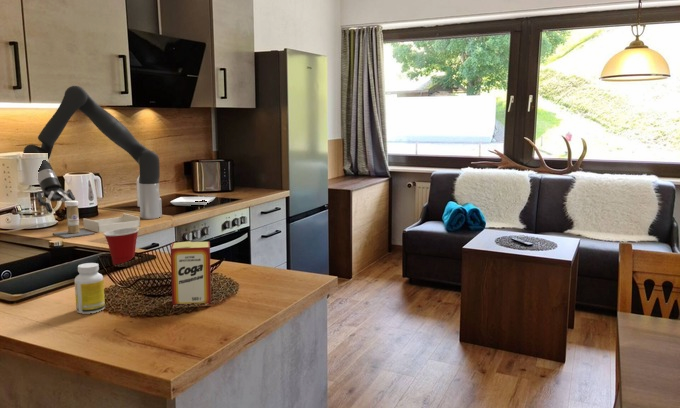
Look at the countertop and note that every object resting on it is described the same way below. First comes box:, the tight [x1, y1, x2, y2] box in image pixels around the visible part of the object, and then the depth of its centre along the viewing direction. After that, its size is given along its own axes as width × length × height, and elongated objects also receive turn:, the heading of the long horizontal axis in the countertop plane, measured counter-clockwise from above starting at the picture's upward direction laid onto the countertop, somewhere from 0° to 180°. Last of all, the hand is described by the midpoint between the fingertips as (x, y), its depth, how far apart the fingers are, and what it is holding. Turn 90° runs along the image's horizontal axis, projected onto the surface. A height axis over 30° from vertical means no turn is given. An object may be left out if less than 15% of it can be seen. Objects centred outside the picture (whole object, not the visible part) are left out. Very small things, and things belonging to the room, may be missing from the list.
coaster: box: [52, 228, 96, 239], centre depth 221 cm, size 12×12×1 cm
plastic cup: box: [102, 227, 140, 266], centre depth 173 cm, size 11×11×12 cm
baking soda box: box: [170, 240, 212, 305], centre depth 137 cm, size 10×6×16 cm
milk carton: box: [136, 174, 140, 208], centre depth 298 cm, size 7×7×19 cm
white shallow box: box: [82, 212, 141, 234], centre depth 237 cm, size 19×14×4 cm
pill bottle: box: [74, 262, 106, 315], centre depth 131 cm, size 6×6×12 cm
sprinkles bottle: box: [65, 200, 80, 234], centre depth 221 cm, size 5×5×13 cm
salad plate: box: [169, 196, 216, 207], centre depth 310 cm, size 21×21×3 cm
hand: (61, 210), depth 227 cm, fingers open, 8 cm apart
